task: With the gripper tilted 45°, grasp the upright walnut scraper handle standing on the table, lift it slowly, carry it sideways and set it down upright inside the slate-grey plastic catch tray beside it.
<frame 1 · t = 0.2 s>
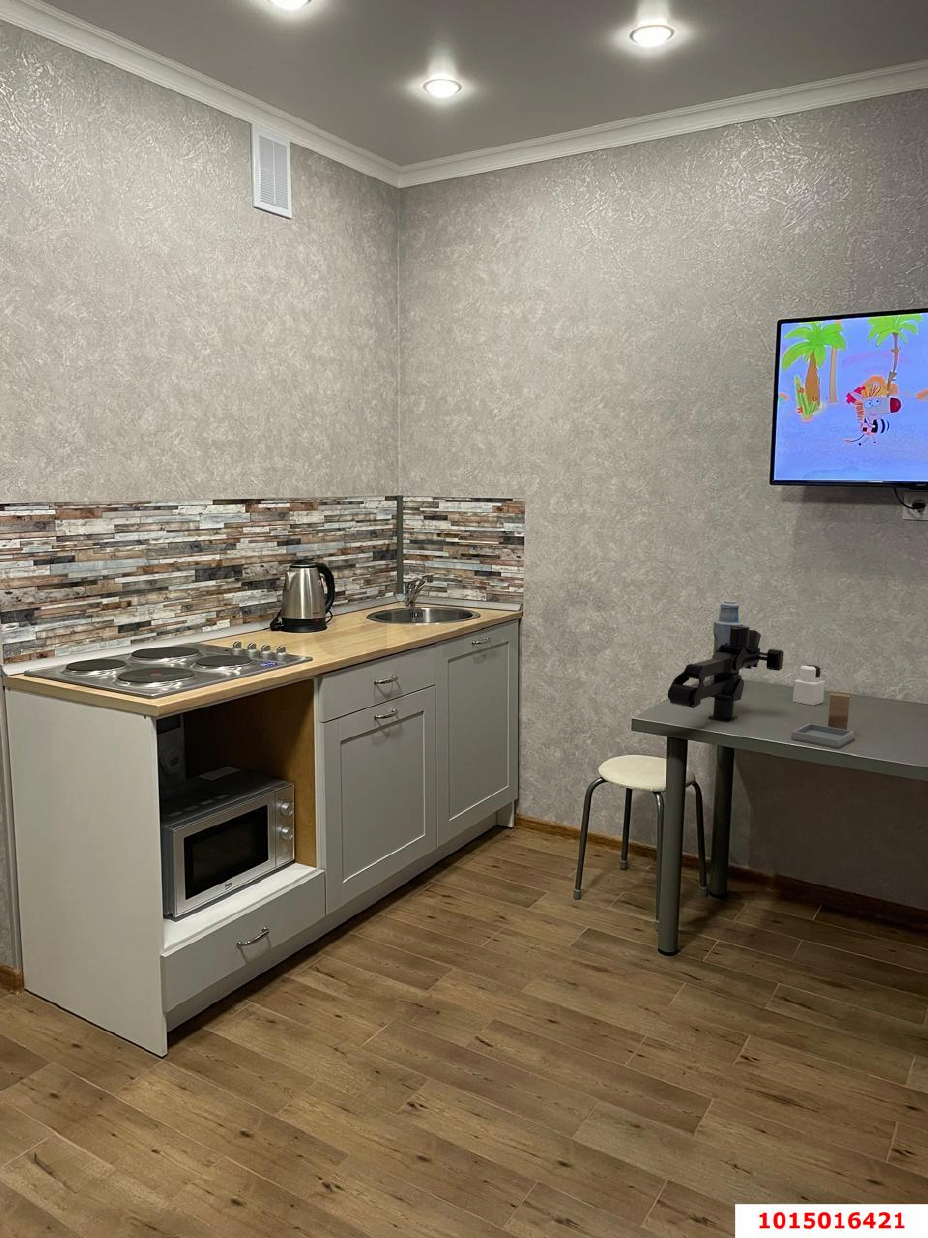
hand: (764, 653, 292), 17 cm above the table, tool horizontal, fingers open, 9 cm apart
medicine bottle: (807, 702, 299), on the table
bottle: (723, 688, 318), on the table
catch tray: (822, 739, 255), on the table
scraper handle: (837, 731, 264), on the table
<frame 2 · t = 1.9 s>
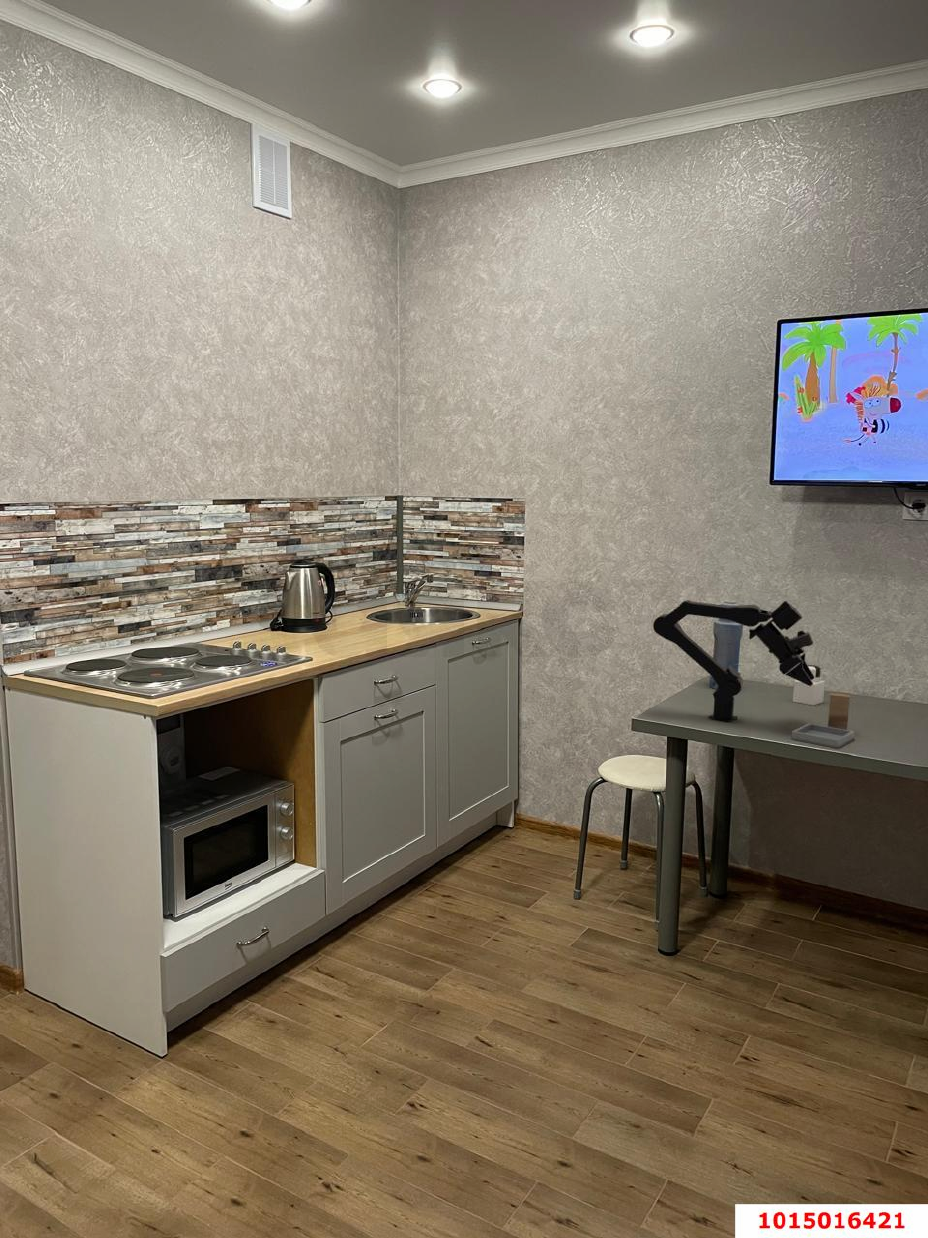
hand: (812, 681, 265), 14 cm above the table, tool tilted 45°, fingers open, 9 cm apart
nothing on the table moved.
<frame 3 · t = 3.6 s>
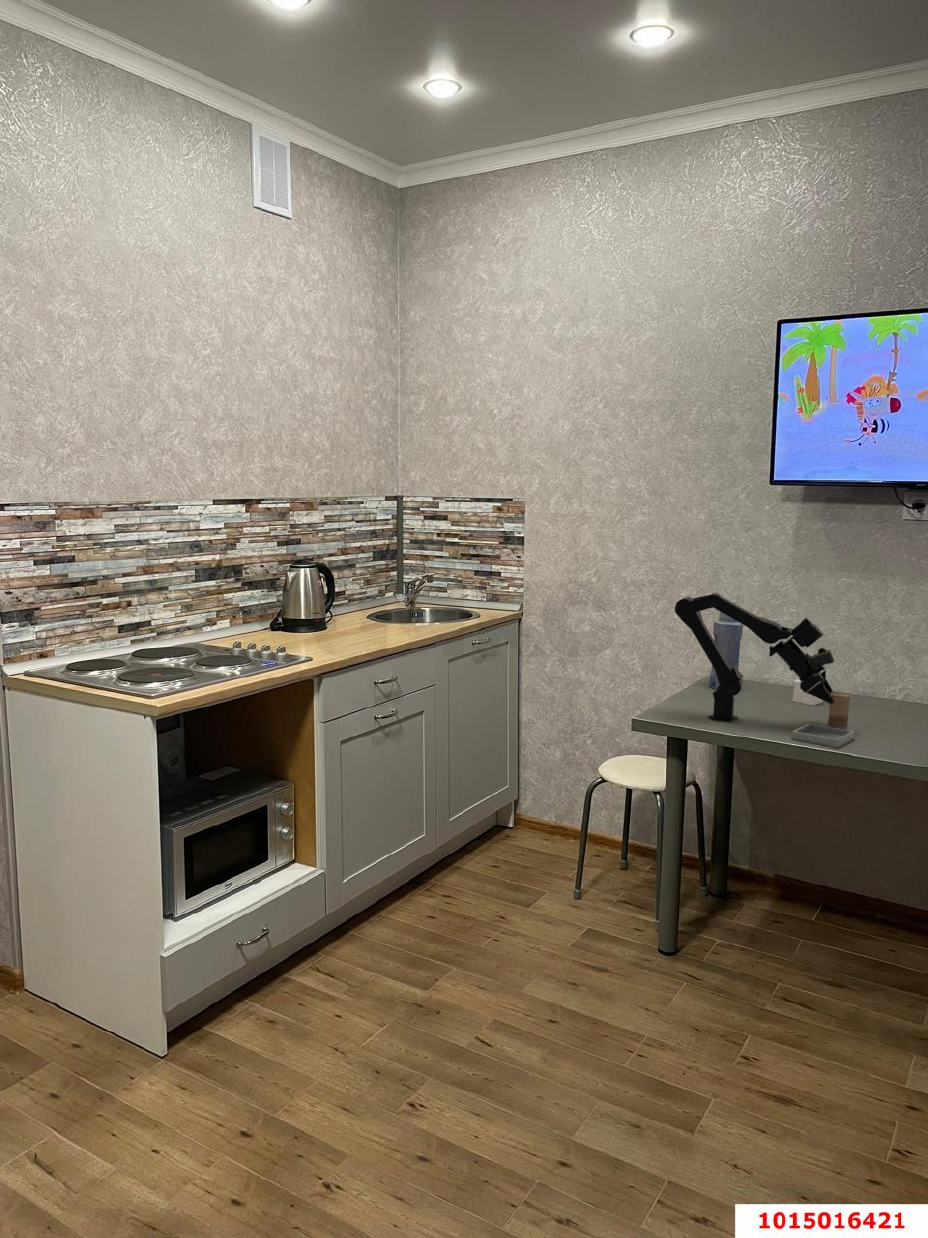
hand: (833, 699, 263), 9 cm above the table, tool tilted 45°, fingers open, 9 cm apart
nothing on the table moved.
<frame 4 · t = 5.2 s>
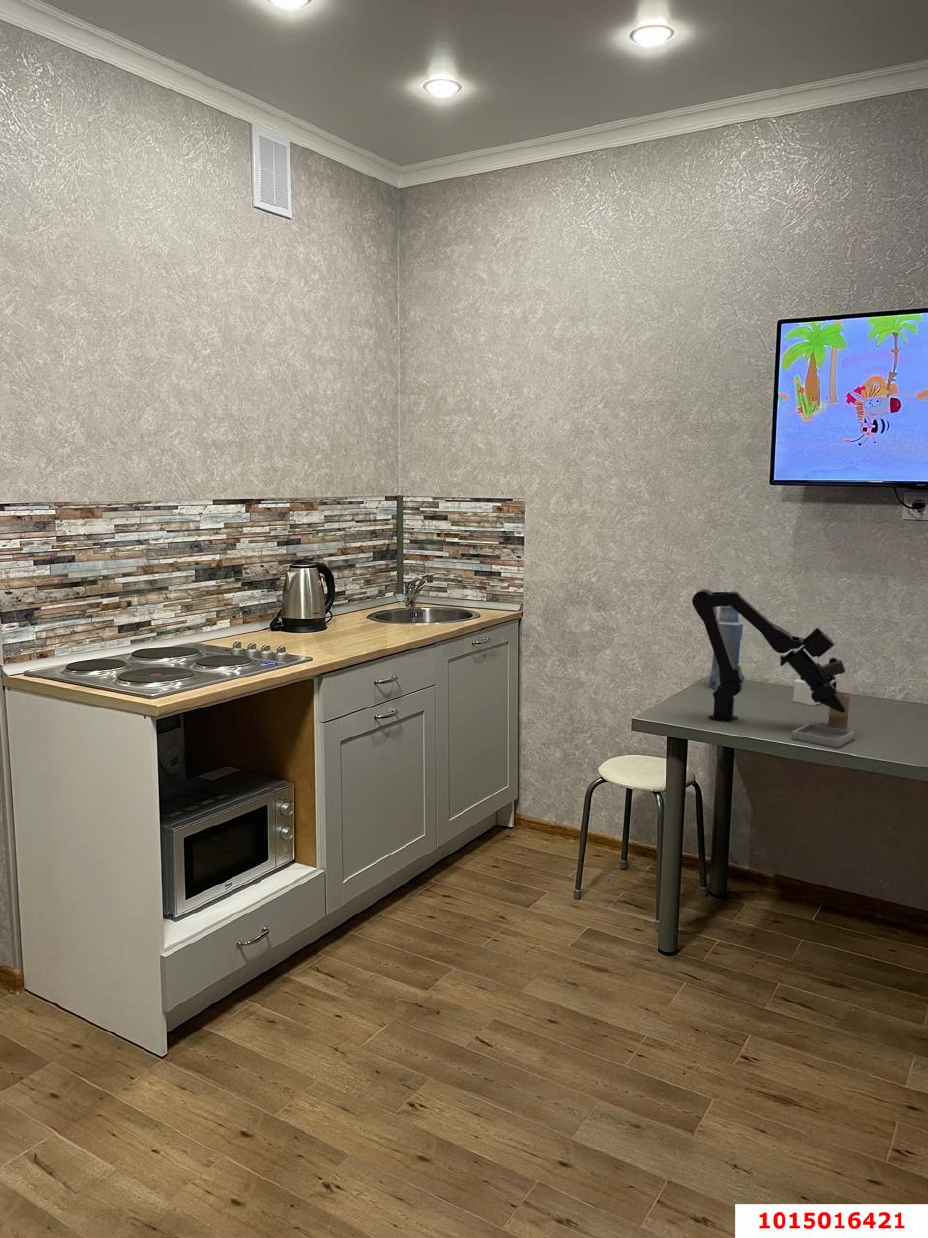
hand: (844, 709, 262), 7 cm above the table, tool tilted 45°, fingers closed on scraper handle, 5 cm apart
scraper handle: (837, 731, 264), on the table, touching gripper
everything else where it was.
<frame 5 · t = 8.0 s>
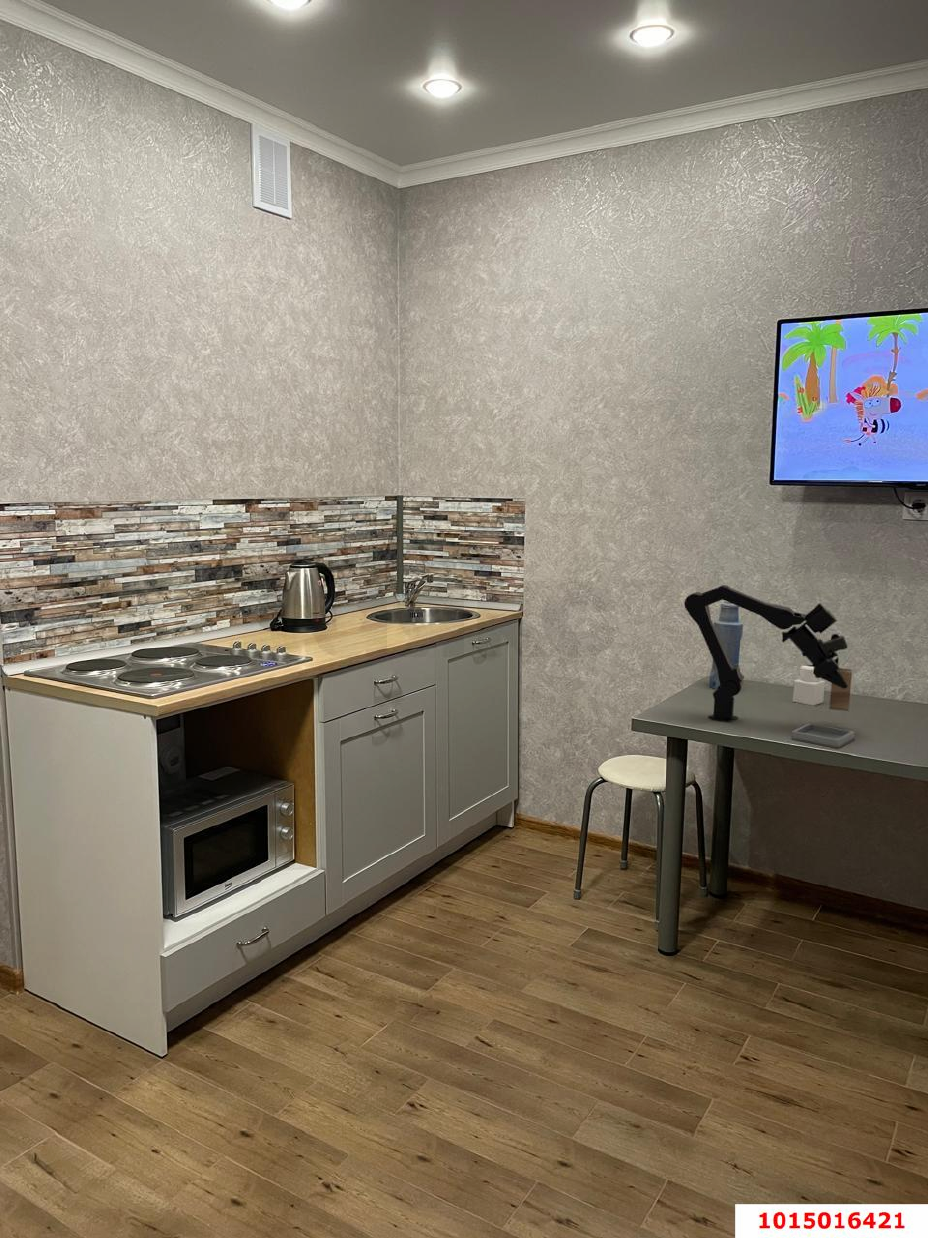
hand: (846, 685, 261), 14 cm above the table, tool tilted 45°, fingers closed on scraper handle, 5 cm apart
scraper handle: (839, 708, 263), point 7 cm above the table, touching gripper
everything else where it was.
when the fingers open (9 cm above the table, at t = 10.9 s): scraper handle drops 1 cm, resting on catch tray.
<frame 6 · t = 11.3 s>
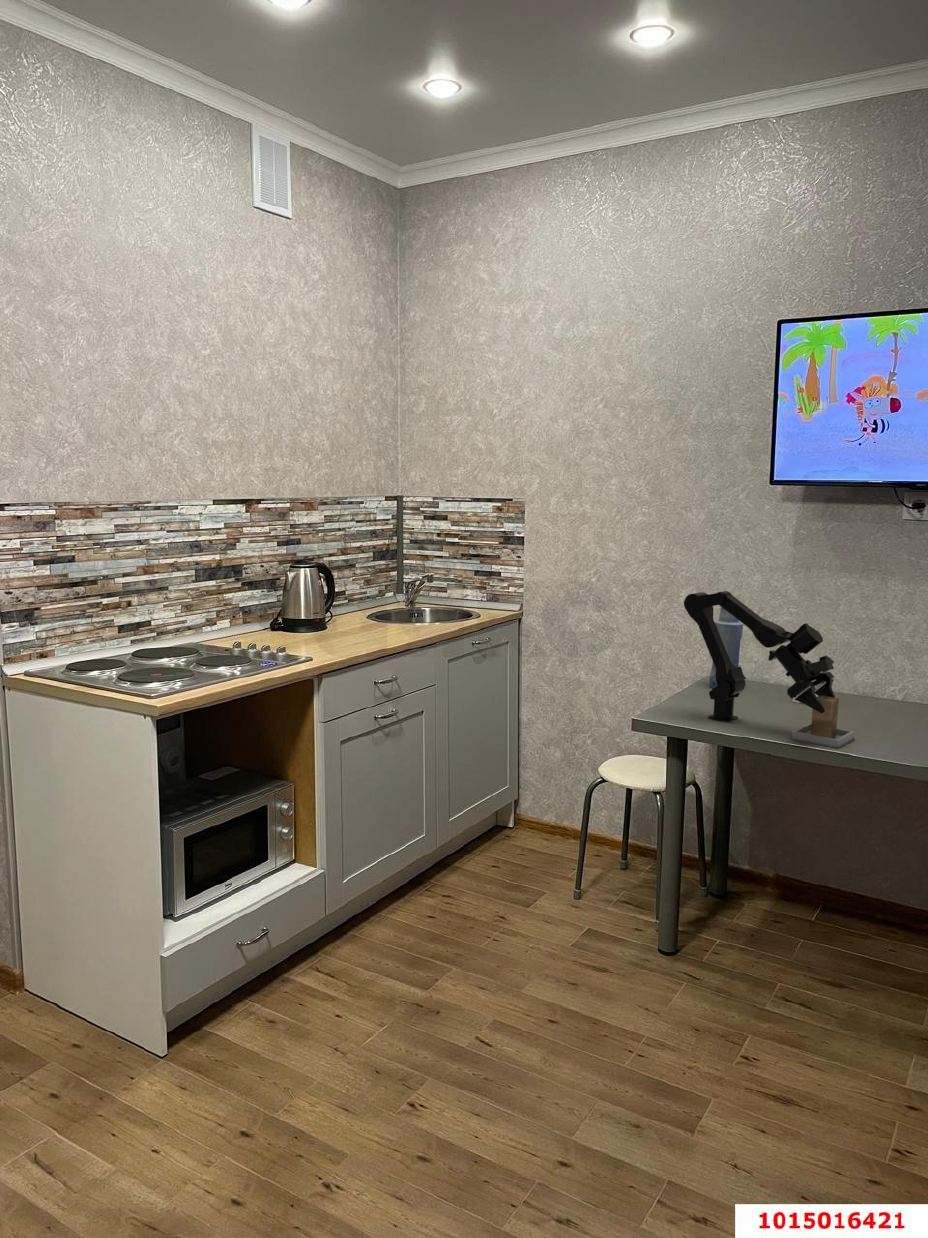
hand: (830, 709, 253), 9 cm above the table, tool tilted 45°, fingers open, 9 cm apart
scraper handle: (823, 737, 255), point 1 cm above the table, touching catch tray
everything else where it was.
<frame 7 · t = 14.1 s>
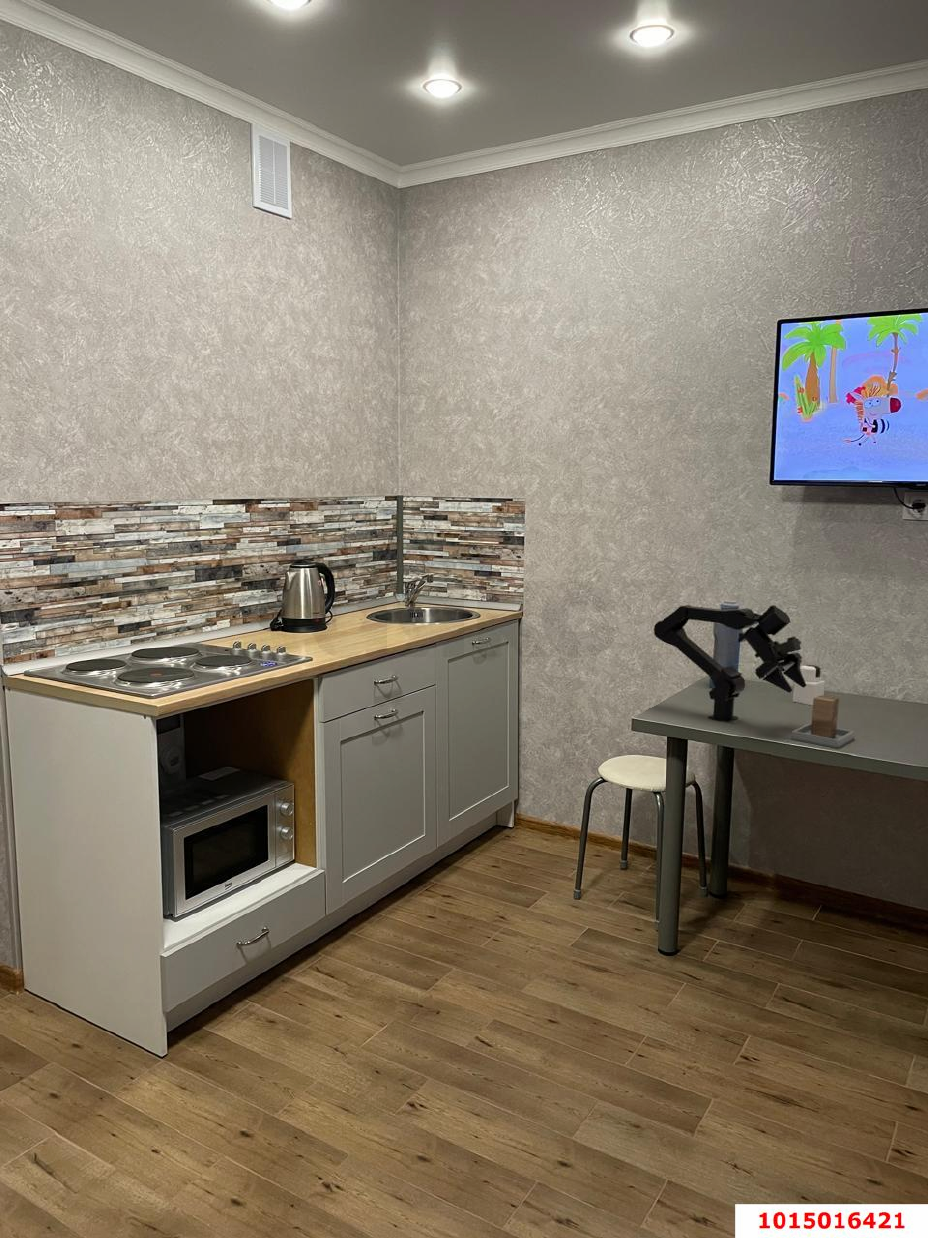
hand: (798, 689, 259), 13 cm above the table, tool tilted 45°, fingers open, 9 cm apart
nothing on the table moved.
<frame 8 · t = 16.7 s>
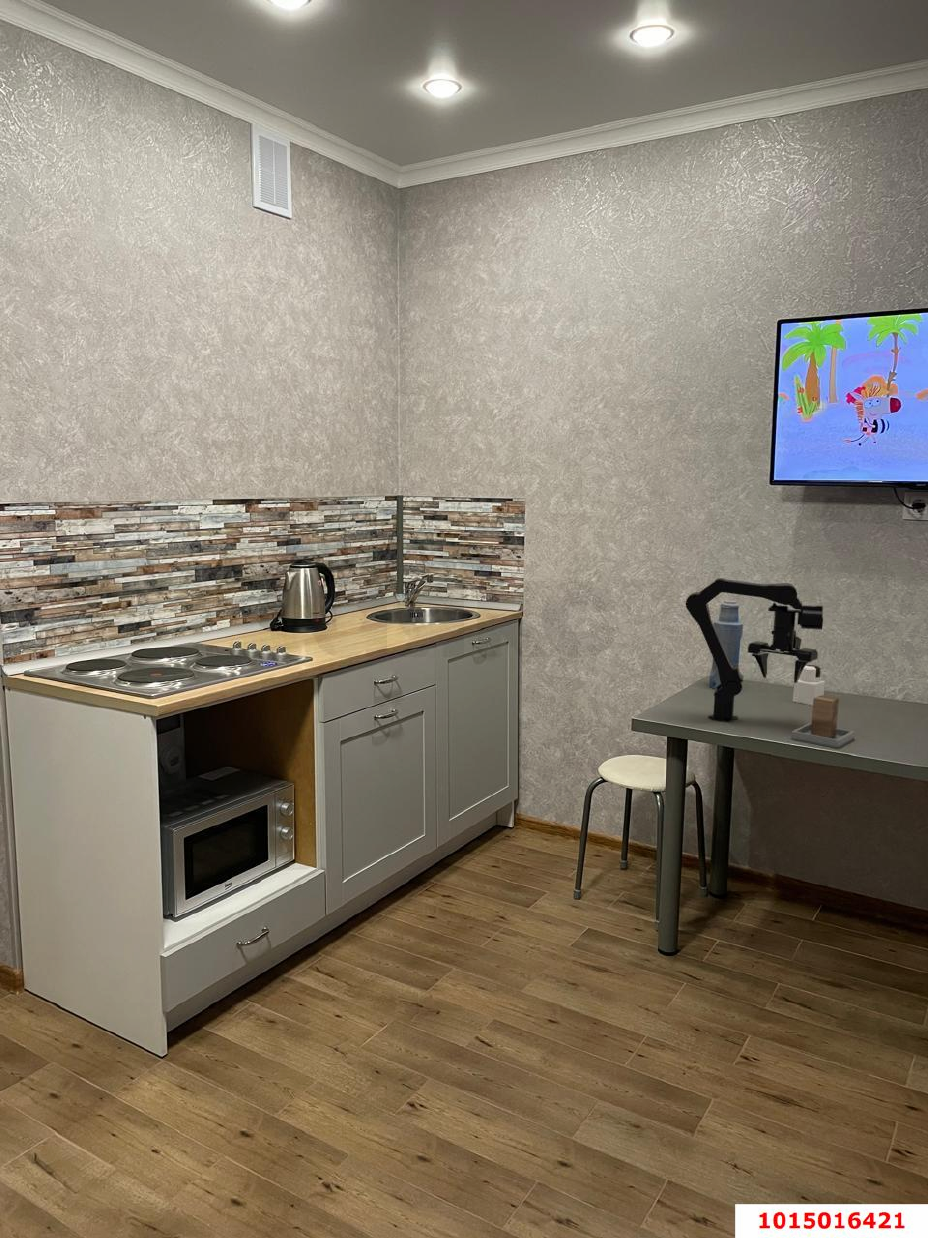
hand: (780, 680, 269), 13 cm above the table, tool pointing down, fingers open, 9 cm apart
nothing on the table moved.
at the end: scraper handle 0.0 cm off-centre on the catch tray, point 0.6 cm above the catch tray's base; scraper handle tilted 0°; the gripper is holding nothing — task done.
